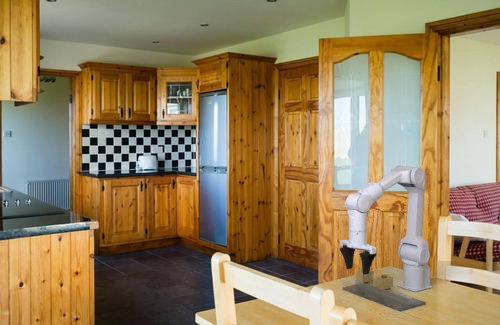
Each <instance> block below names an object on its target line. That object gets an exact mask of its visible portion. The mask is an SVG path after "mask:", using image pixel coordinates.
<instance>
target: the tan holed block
mask: <svg viewBox="0 0 500 325" xmlns="http://www.w3.org/2000/svg"><path fill="white" fill-rule="evenodd" d="M374 284H375V287H376V288H379V289H381V290H383V289H391V290H392V288H393V287H394V276H391V275H388V274H383V275H382V274H381V275H378V276H377V275H376V276H375V277H374Z"/></svg>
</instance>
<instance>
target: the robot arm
mask: <svg viewBox="0 0 500 325" xmlns="http://www.w3.org/2000/svg"><path fill="white" fill-rule="evenodd" d="M426 176H427V174H426V171H424V169H423V168H422V167H421V166H408V165H407V166H405V165H404V166H403V165H396V166H395V167H393V168H391V169H390V172H389V173H388V174H386V176H384V177H383V178H381V179H380V180H379V181H378V182H374V181H373V182H368V183H367V185H366V186H365V187H363V188H362V189H359V190H357V192H356V193H350V194H349V195H348V196H347V197H346V199H345V201H344V206H345V208H346V210H347V215H348V239H340V241H339V242H340V243H339V244H340V247H339V252H340V253H341V255H342V257H343V261H344V262H345V263H344V264H345V268H346V270H352V269H353V268H354V256H355V252H356V250H357V251H361V252H359V257H360V261H361V270H362V272H363V274H364V275H366V274H369V271H370V270H371V266H372V265H373V262H374V259H375V258H376V256H377V247H375V246H374V245H373V246H372V245H370V244H369V243H367V241H368V240H367V237H368V236H367V230H368V228H367V224H368V223H367V221H368V220H367V219H368V218H367V215H368V214H367V212H369V211H370V209H371V206H372V205H373V204H374V203H375V202H376V201H378V200H379V199H381V198H382V197H383V196H384V192H385V191H387V190H388V189H390V188H392V187H393V186H396V184H397V185H399V186H401V187H403V188H404V189H405V190H406V191H407V192H408V195H407V196H408V198H407V215H406V216H407V218H406V232H405V233H406V235H405V236H404V237H402V238H401V239H400V244H399V247H398V252H397V253H398V258H400V259H401V262H402V263H403V264H402V268H403V269H402V274H403V275H402V283H400V284H399V283H398V284H397V287H400V288H402V289H404V290H408V291H411V292H414V293H415V292H419V291H424V290H428V289H432V288H433V285H431V267H430V265H429V264H428V262H429V260H430V257H431V253H430V249H429V248H430V247H429V245H430V244H429V242H428V241H427V240H426V239H425V238H424V237H423V228H424V226H423V224H424V212H425V211H424V207H425V193H426V192H425V189H426Z"/></svg>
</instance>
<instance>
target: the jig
mask: <svg viewBox="0 0 500 325" xmlns="http://www.w3.org/2000/svg"><path fill="white" fill-rule="evenodd" d="M355 279H356V280H355V284H352V285H348V286H347V285H346V286H343V287H342V291H345V292H348V293H350V294H353V295H356V296H359V297H360V298H364V299H366V300H369V301H371V302H374V303H376V304H380V305H382V306H384V307H387V308H390V309H393V310H396V311H398V312H404V311H407V310H410V309H415V308H419V307H423V306H426V301H423V300H421V299H419V298H415V297H414V296H411V295H408V294H405V293H402V292H400V291H397V290H393V289H392V288H391V289H383V290H381V289H379V288H376V287H375V283H374V270H372V269H370V271H369V274H366V275H364V274H363V272H362V269H359V270H356V273H355Z"/></svg>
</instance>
